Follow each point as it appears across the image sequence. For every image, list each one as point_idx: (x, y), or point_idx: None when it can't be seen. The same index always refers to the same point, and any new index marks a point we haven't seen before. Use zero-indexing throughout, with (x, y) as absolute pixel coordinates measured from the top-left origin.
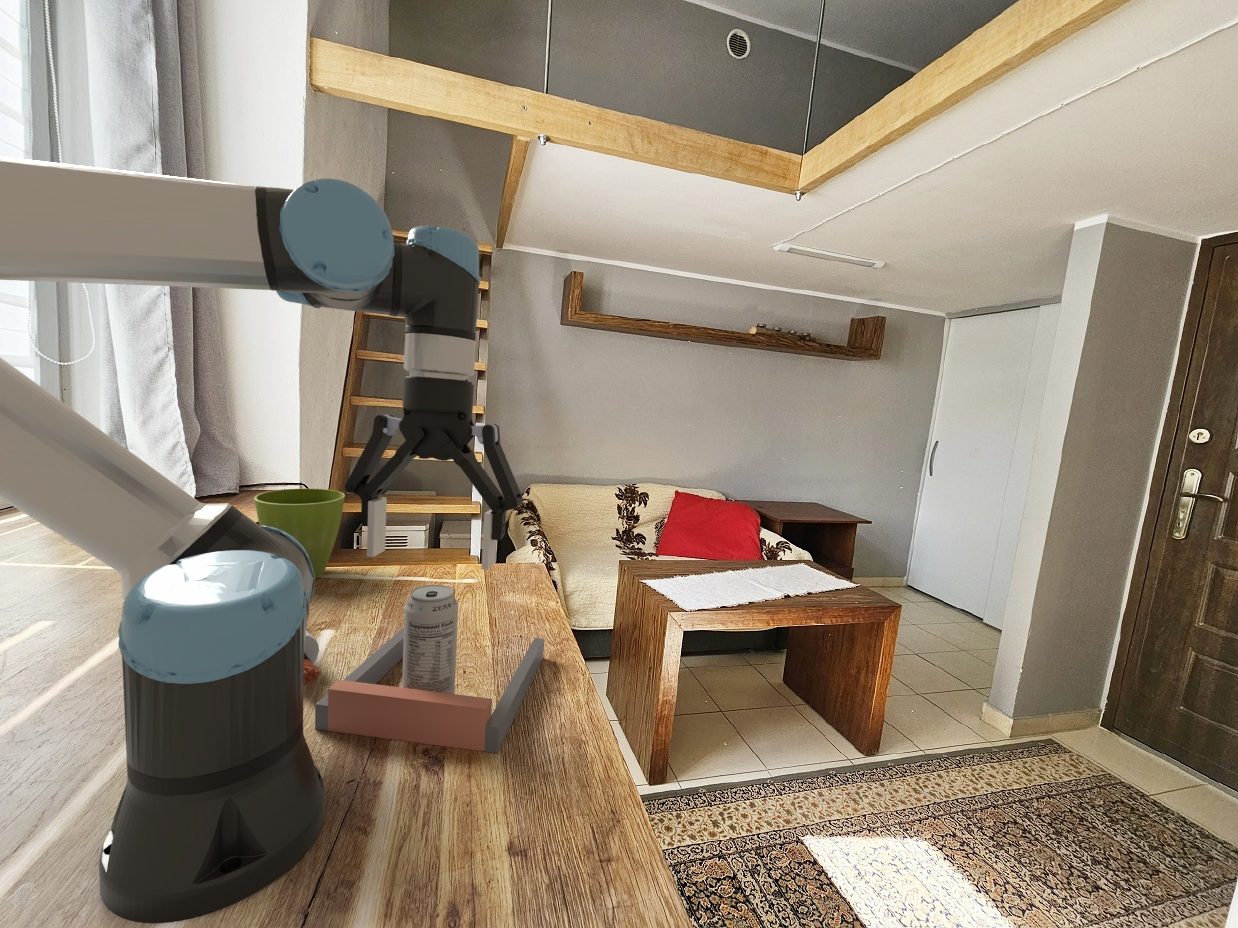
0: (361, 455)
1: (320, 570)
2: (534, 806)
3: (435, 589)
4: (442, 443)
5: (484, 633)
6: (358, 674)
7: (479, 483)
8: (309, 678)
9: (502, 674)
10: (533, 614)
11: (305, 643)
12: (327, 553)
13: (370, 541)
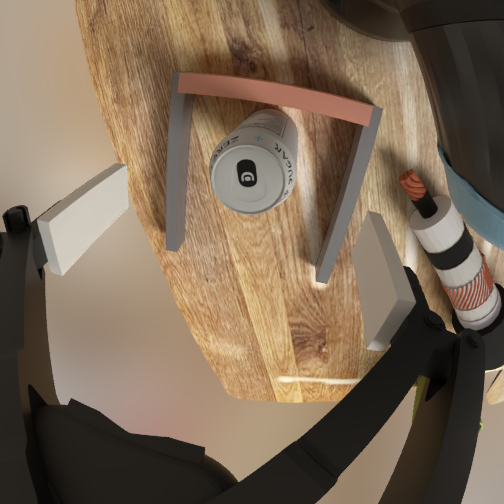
0: (474, 443)
1: (421, 380)
2: (144, 19)
3: (247, 196)
4: (16, 458)
5: (246, 286)
6: (356, 168)
7: (7, 283)
8: (406, 174)
9: (207, 205)
10: (205, 320)
11: (425, 223)
12: (418, 395)
13: (381, 230)
